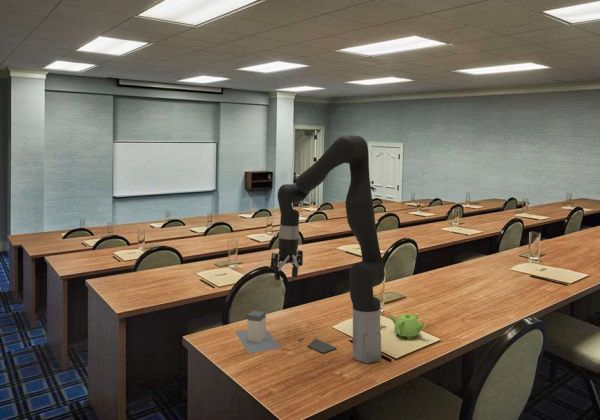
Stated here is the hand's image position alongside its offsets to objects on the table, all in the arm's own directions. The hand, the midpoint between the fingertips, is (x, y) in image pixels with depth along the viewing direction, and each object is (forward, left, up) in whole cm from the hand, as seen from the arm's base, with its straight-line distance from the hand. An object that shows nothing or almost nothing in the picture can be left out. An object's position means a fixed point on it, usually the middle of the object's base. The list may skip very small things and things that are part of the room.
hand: (286, 278), depth 182 cm
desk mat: (-3, +13, -22) cm, 25 cm away
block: (-3, +13, -21) cm, 25 cm away
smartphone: (-15, -6, -22) cm, 28 cm away
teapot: (-19, -42, -22) cm, 51 cm away
